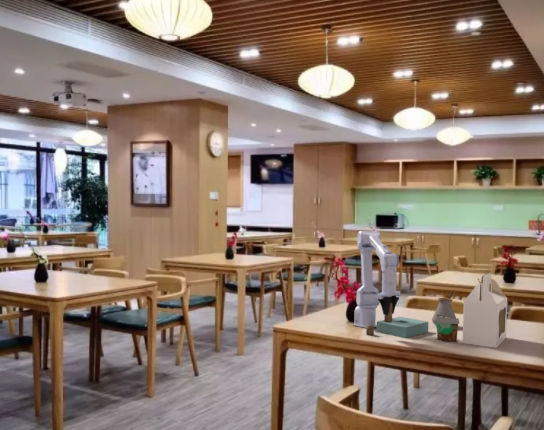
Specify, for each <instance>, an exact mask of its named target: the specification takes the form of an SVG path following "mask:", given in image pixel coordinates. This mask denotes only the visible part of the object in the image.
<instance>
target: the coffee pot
mask: <svg viewBox="0 0 544 430" xmlns="http://www.w3.org/2000/svg"><path fill="white" fill-rule="evenodd" d="M454 293H455V291H454V290H451V291H450V292H449V294H448V297H438V298H437V300H438V304H437V305H438V306H437V308H436V309H435V312H434V313H433V316H432V318H431V322H432V323H433V324H434V325H435V327H437V324H436V321H435V316H436V315H437V314H441V313H442V316H444V317H450V318H452V319H457V317H456V314H455V311H454V309H453V307H452V302H453V298H452V296H453V295H454Z"/></svg>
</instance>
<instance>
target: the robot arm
mask: <svg viewBox="0 0 544 430" xmlns="http://www.w3.org/2000/svg"><path fill="white" fill-rule="evenodd" d="M381 240H382V235H381V233H380V231H379V230H376V231H371V230H370V231H367V230H366V231H361V230H359V231H358V233H357V235H356V245H357V249H358V251H359V250H360V264H361V284H362V286H360V287H359V288H358V289H357V290H356V296H355V299H356V301H355V302H356V305H357V306H356V307H355V309H354V313H353V314H354V318H353V319H354V320H353V321H354V322H353V323H354V324H353V326H355V327H360V328H361V327H362V328H366V325H374V328H377V323H376V322H377V321H376V318H377V317H376V315H377V314H376V312H377V309H376V308H378V306H379V305H380V306H381V307H380V308H381V310H382V314H383V315H384V316H385V315H388V314H389V307H390V303H392V315H394V313H395V309H396V306H397V303H398V301H399V300H400V297H401V291H400V290H396V289H397V268H398V267H399V264H400V257H399V256H398V253H394V252H393V253H392V251H391V250H390V248H389V246H387V244H383V242H382V241H381ZM374 250H375V254H376V256H377V257H378V258H379V263H380V268H381V271H382V274H381V283H382V284H381V292H379V289H378V288H377V287H375V286H374V281H373V280H374V279H373V278H374V277H373V262H372V261H373V259H372V258H373V257H372V251H374Z"/></svg>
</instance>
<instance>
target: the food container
mask: <svg viewBox="0 0 544 430" xmlns="http://www.w3.org/2000/svg"><path fill="white" fill-rule="evenodd" d="M435 321H436V324H437V326H436V339H437V340H438V341H441V342H445V343H457V341H458V332H459V331H458V329H459V325H460V319H459V318H456V319H452V318H450V317H444V316H442V313H441V314H437V315H436V316H435Z"/></svg>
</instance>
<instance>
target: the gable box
mask: <svg viewBox="0 0 544 430" xmlns="http://www.w3.org/2000/svg"><path fill="white" fill-rule="evenodd" d="M477 280H478V282H479V283H478V284H476V285H475V286H474V288H472V290H471V291H470V293H469V294H468V295H467V297H466V298H465V300H463V315H462V316H463V317H462V320H463V321H462V344H465V345H471V344H472V345H471V346H473V345H474V346H478V345H479V346H480V347H486V348H487V347H488V348H494V349H497V348H498V347H499V345H501V343H503V341H504V340H505V339H506V338H507V323H508V321H507V320H508V319H507V318H508V316H507V315H508V297H507V296H506V294H505V293H504V291H503V290H502V288H501V287H500V285H499V283H497V281H496V280H495V279H493V278H492V273H491V272H488V273H485V274H484V275H482V276H481V277H479V278H477Z"/></svg>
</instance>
